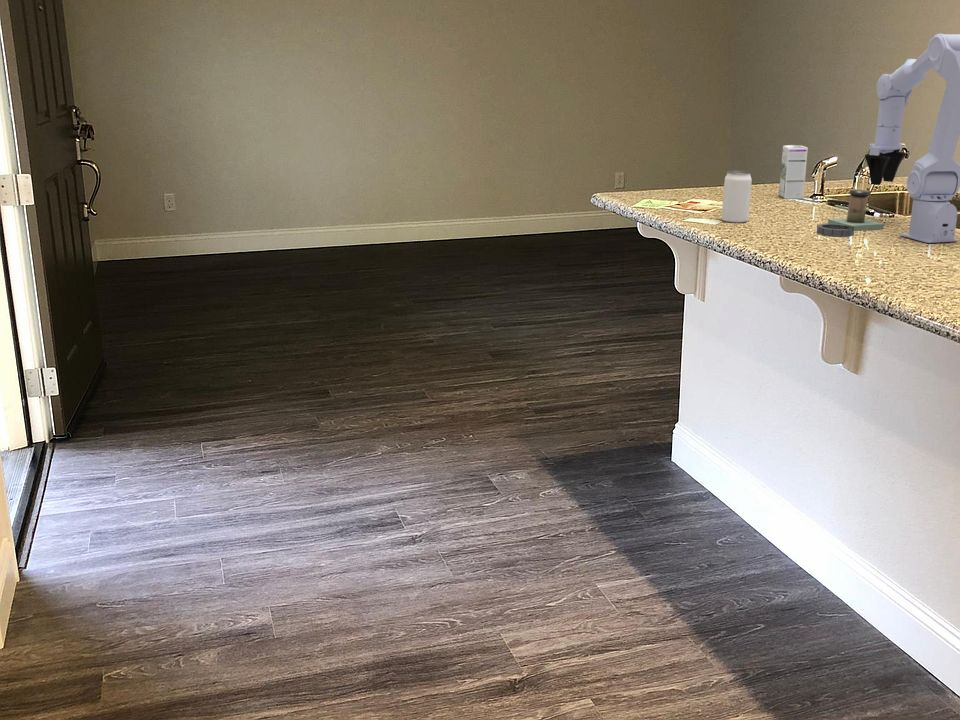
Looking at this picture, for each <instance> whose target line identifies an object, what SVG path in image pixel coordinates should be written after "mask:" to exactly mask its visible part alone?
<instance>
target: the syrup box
mask: <svg viewBox="0 0 960 720" xmlns="http://www.w3.org/2000/svg"><path fill="white" fill-rule="evenodd" d="M808 150H809V147H807V146H805V145H804V146H803V145H801V144H800V145H799V144H788V145H786V144H785V145H783V146H782V155H781V163H780V164H781V165H780V176H779V177H780V179H779V190H778V196H779V197H780V198H782V199H785V200H804V195H805V185H806V175H807V162H808V153H809V152H808Z"/></svg>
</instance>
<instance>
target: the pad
mask: <svg viewBox="0 0 960 720" xmlns="http://www.w3.org/2000/svg"><path fill="white" fill-rule="evenodd" d="M827 224H842V225H849V226H852V227H854V232H855V231H870V230H872V231H873V230H884V228H885V226H884V225H885V223H882V222H879V221H878V222H877V221H874V220H872V219H867V218H865V220H864V223H853V222H848V221H847V217H844V218H830V219H828V221H827Z"/></svg>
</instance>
